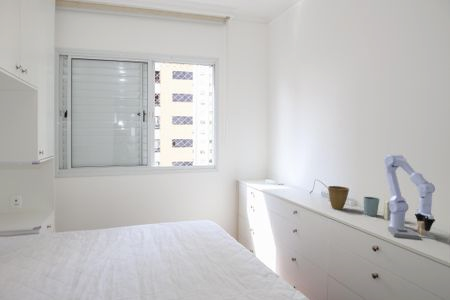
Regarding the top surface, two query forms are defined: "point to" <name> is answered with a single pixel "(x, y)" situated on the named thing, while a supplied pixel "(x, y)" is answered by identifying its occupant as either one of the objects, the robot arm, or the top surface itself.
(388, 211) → the skincare box
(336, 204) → the plant pot
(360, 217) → the top surface
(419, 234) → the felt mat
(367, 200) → the teal tapered pot
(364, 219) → the top surface
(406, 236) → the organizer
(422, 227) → the oak block
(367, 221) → the top surface
